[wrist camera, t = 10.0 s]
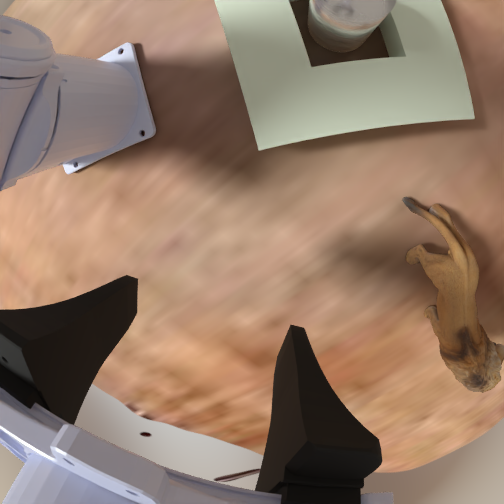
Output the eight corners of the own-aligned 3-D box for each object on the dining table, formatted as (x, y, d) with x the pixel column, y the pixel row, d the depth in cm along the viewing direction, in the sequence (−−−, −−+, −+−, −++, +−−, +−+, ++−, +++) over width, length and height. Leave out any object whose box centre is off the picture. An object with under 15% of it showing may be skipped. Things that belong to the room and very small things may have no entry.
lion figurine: (478, 313, 22) (519, 378, 14) (433, 342, 24) (463, 415, 16) (427, 177, 18) (497, 217, 10) (369, 216, 20) (410, 279, 12)
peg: (321, 58, 16) (333, 27, 10) (298, 10, 15) (296, -38, 8) (376, 46, 15) (410, 14, 9) (352, -2, 14) (372, -49, 7)
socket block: (264, 146, 19) (258, 150, 16) (212, -24, 14) (200, -41, 11) (453, 117, 16) (474, 118, 13) (396, -47, 11) (406, -64, 8)
